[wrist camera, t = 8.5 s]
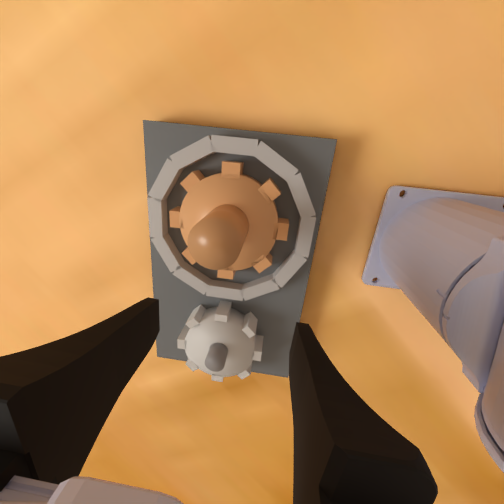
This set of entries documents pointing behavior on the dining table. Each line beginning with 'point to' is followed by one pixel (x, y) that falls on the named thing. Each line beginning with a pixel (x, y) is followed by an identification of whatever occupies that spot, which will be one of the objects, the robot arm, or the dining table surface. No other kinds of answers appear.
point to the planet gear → (229, 220)
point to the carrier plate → (245, 281)
